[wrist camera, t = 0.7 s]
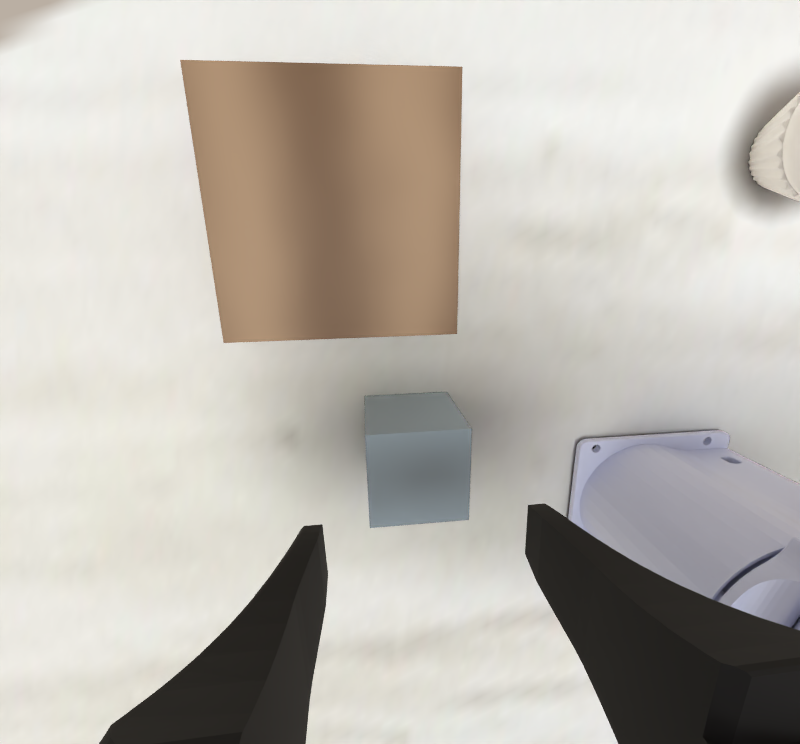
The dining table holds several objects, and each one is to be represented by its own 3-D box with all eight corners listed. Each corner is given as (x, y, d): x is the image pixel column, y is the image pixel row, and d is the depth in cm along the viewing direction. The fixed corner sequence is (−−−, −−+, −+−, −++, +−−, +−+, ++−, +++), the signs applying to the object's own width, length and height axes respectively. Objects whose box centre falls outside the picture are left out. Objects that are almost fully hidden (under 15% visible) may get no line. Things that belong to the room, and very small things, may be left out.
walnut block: (445, 102, 17) (462, 66, 14) (443, 324, 19) (456, 333, 16) (213, 98, 16) (180, 60, 13) (245, 331, 18) (223, 342, 16)
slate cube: (446, 391, 20) (471, 428, 16) (445, 464, 22) (468, 519, 17) (364, 395, 20) (365, 435, 15) (368, 469, 21) (369, 527, 16)
